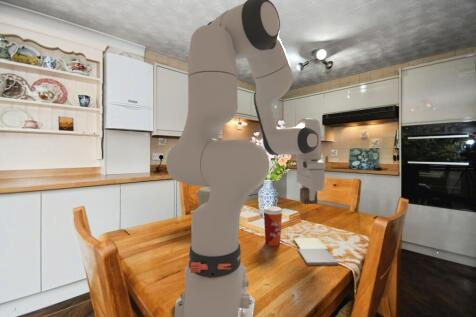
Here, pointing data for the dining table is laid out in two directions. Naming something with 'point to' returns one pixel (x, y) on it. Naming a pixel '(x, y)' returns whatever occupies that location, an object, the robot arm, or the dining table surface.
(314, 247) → the pad
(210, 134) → the robot arm
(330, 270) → the dining table surface
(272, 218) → the paper cup
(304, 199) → the walnut cube
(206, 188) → the canister
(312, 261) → the pad
